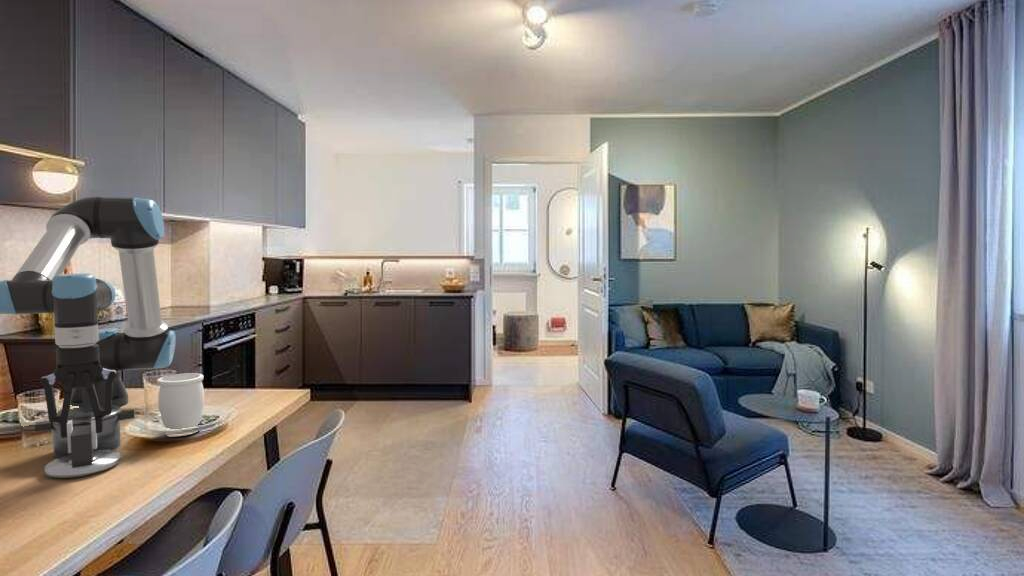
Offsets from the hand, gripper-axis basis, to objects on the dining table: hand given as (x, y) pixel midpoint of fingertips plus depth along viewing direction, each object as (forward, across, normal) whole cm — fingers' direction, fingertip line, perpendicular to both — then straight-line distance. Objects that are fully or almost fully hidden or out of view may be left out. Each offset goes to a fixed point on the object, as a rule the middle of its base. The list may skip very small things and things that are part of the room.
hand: (83, 448), depth 125 cm
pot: (+5, 0, +14) cm, 14 cm away
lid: (+4, 0, 0) cm, 4 cm away
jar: (+5, +20, +16) cm, 26 cm away
